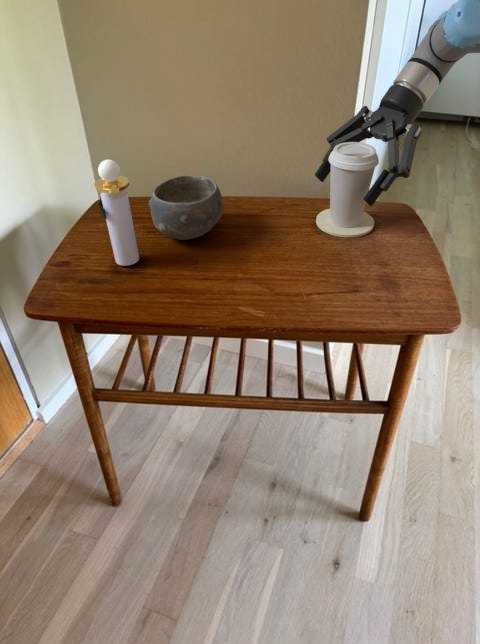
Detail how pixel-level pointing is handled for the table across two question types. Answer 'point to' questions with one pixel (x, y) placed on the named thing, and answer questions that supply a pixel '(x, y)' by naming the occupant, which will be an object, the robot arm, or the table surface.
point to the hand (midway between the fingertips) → (341, 190)
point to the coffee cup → (350, 181)
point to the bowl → (186, 206)
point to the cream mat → (334, 230)
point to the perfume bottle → (117, 212)
